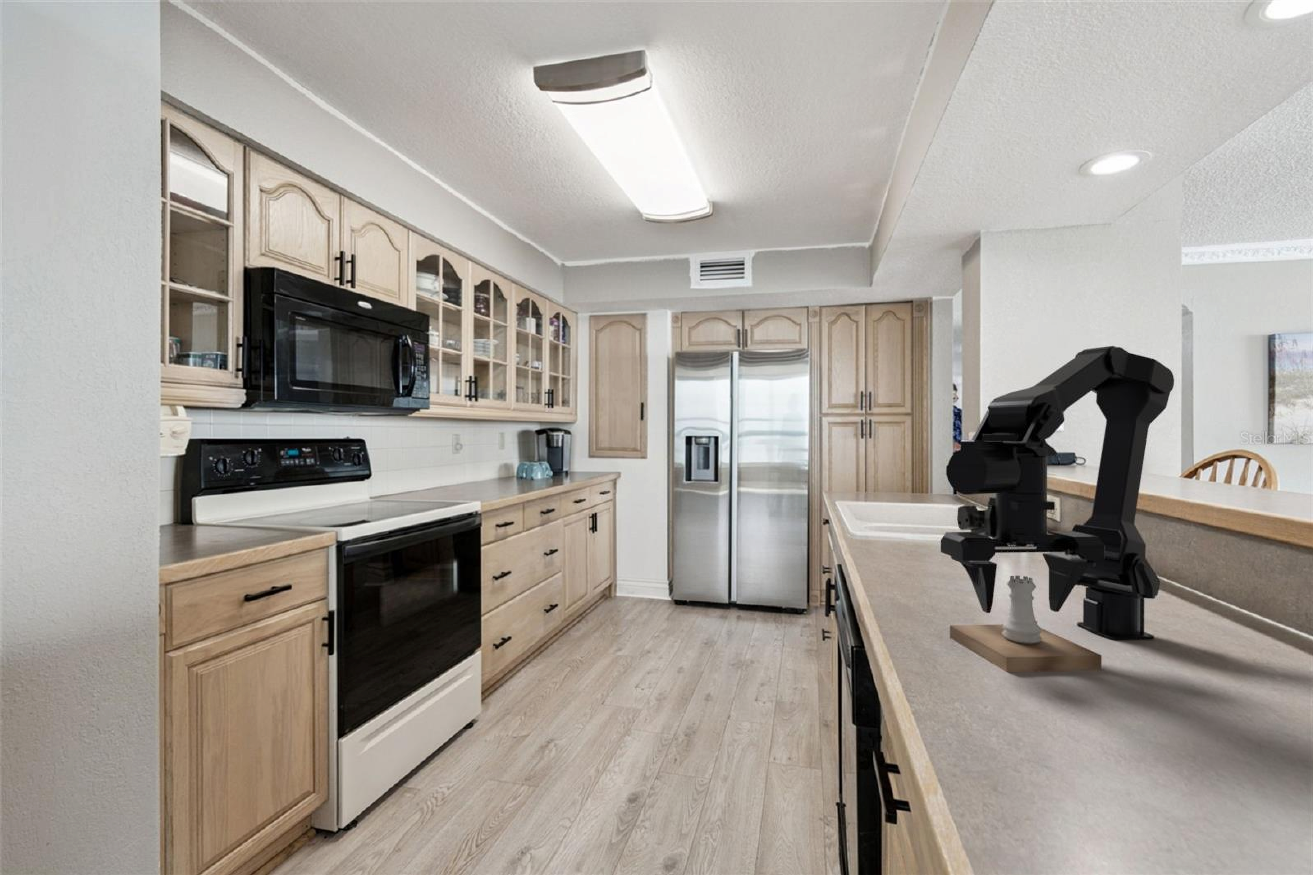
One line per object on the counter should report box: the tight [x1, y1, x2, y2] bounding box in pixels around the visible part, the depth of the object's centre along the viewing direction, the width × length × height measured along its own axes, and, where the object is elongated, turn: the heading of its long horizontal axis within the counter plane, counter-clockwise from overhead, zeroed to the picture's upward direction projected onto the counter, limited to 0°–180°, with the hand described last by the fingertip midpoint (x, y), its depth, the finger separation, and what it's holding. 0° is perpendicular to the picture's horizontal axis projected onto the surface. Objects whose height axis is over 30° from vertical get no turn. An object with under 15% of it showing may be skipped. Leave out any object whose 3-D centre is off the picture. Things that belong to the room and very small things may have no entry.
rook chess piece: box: [1002, 575, 1042, 644], centre depth 77 cm, size 4×4×8 cm
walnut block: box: [949, 623, 1103, 673], centre depth 77 cm, size 12×12×2 cm
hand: (1020, 611), depth 77 cm, fingers open, 9 cm apart
